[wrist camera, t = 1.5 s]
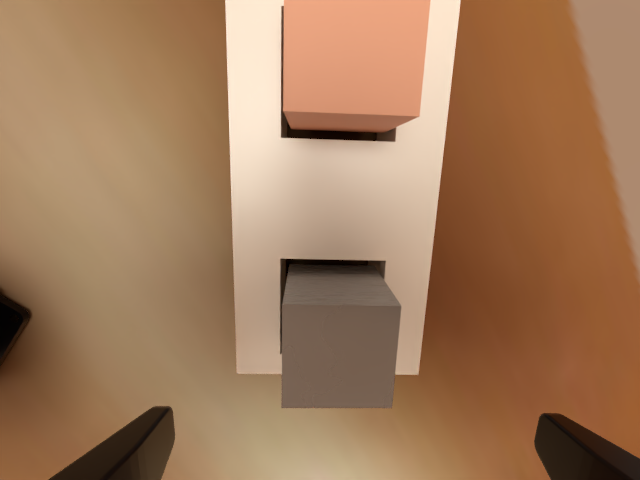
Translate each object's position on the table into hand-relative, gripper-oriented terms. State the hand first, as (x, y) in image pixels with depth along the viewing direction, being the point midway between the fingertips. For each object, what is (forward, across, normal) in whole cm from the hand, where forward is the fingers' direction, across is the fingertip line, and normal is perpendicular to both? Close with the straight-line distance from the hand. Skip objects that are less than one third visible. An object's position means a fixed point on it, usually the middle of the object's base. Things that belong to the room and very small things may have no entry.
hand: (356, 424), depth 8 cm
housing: (+11, 0, -5) cm, 12 cm away
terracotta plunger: (+8, 0, -10) cm, 12 cm away
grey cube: (+8, 0, 0) cm, 8 cm away
